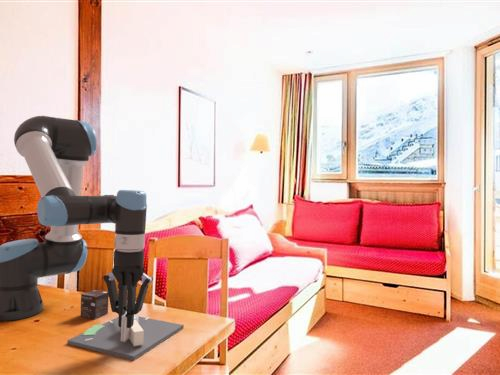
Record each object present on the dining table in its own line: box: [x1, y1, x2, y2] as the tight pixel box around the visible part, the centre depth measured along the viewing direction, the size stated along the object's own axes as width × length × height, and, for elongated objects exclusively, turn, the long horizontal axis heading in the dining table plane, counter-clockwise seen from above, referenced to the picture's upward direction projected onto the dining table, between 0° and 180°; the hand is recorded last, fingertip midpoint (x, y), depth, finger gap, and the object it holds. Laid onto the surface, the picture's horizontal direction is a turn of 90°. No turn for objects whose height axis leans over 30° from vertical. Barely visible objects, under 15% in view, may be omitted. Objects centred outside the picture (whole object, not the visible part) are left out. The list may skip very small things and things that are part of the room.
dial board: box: [67, 316, 185, 361], centre depth 103 cm, size 23×22×1 cm
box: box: [80, 289, 109, 320], centre depth 118 cm, size 6×6×7 cm
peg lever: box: [120, 311, 144, 346], centre depth 102 cm, size 21×5×4 cm, turn 31°
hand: (125, 339), depth 95 cm, fingers closed
